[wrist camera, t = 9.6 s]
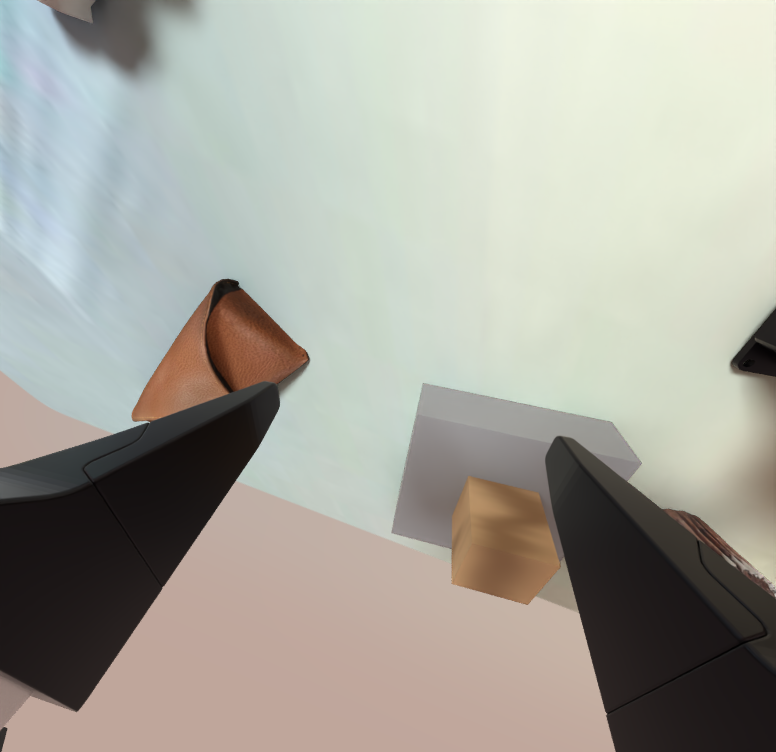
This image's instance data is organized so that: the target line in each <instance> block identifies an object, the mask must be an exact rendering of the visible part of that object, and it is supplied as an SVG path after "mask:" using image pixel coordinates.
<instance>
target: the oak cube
mask: <svg viewBox="0 0 776 752" xmlns="http://www.w3.org/2000/svg"><path fill="white" fill-rule="evenodd" d="M560 567H561V566H560V562H559V559H558V556H557V552H556V549H555V546H554V542H553V539H552V536H551V532H550V529H549V525H548V522H547V519H546V515H545V512H544V509H543V505H542V502H541V499H540V495H539V493H538V492H534V491H530V490H526V489H521V488H517V487H513V486H509V485H505V484H500V483H496V482H492V481H488V480H484V479H480V478H475V477H471V476H468V478H467V480H466V483H465V485H464V488H463V490H462V493H461V495H460V498H459V500H458V503H457V505H456V508H455V510H454V513H453V515H452V584H454V585H458V586H462V587H465V588H469V589H472V590H476V591H480V592H483V593H487V594H490V595H494V596H497V597H501V598H505V599H508V600H512V601H515V602H519V603H523V604H526V605H528V604H529V603H530V602H531V600H532V599H533V598H534V597H535V596H536V595H537V594H538V592H539V591H540V590H541V589H542V588H543V587H544V585H545V584H546V583H547V582H548V581H549V580H550V579H551V577H552V576H553V575H554V574H555V573H556V572H557V570H558V569H559V568H560Z"/></svg>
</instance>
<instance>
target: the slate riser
mask: <svg viewBox="0 0 776 752" xmlns="http://www.w3.org/2000/svg"><path fill="white" fill-rule="evenodd" d="M558 435H561V436H566V437H571V438H573V439H575V440H576V441H577V442H578V443H580V444H581V445H582V446H583V447H585V448H586V449H587V450H588V451H590V452H591V453H592V454H593V455H595V456H596V457H597V458H598V459H600V460H601V461H602V462H603V463H605V464H606V465H607V466H608V467H610V468H611V469H612V470H613V471H615V472H616V473H617V474H618V475H620V476H621V477H622V478H623V479H625V480H626V481H628V480H629V478H630V477H631V476H632V475H633V474H634V472H635V471H636V470H637V469H638V468H639V467H640V465H641V464H642V462H641V461H640V460H639V458H638V457H637V456H636V454H635V453H634V452H633V450H632V449H631V448H630V446H629V445H628V443H627V442H626V441H625V439H624V438H623V437H622V435H621V434H620V433H619V431H618V430H617V428H616V427H615V426H614V424H613V423H612V422H608V421H603V420H598V419H594V418H589V417H584V416H579V415H574V414H569V413H565V412H560V411H555V410H550V409H545V408H540V407H535V406H531V405H526V404H521V403H516V402H511V401H506V400H502V399H497V398H492V397H487V396H482V395H477V394H473V393H468V392H463V391H458V390H453V389H448V388H443V387H439V386H434V385H429V384H424V383H423V386H422V390H421V395H420V400H419V404H418V409H417V413H416V418H415V422H414V427H413V431H412V436H411V441H410V445H409V450H408V454H407V459H406V463H405V468H404V473H403V477H402V482H401V486H400V491H399V495H398V501H397V506H396V511H395V516H394V521H393V527H392V532H391V533H393V534H397V535H401V536H405V537H408V538H412V539H416V540H420V541H424V542H427V543H431V544H435V545H439V546H442V547H446V548H450V549H452V515H453V513H454V510H455V508H456V505H457V503H458V500H459V498H460V495H461V493H462V490H463V488H464V485H465V483H466V480H467V478H468V476H471V477H475V478H480V479H484V480H488V481H492V482H496V483H500V484H505V485H509V486H513V487H517V488H521V489H526V490H530V491H534V492H538V493H539V495H540V499H541V502H542V505H543V509H544V512H545V515H546V519H547V522H548V525H549V529H550V532H551V536H552V539H553V542H554V546H555V549H556V552H557V556H558V559H559V562H560V561H561V560H562V558H563V557H564V553H563V549H562V545H561V542H560V538H559V534H558V530H557V526H556V523H555V519H554V515H553V511H552V506H551V500H550V493H549V486H548V479H547V472H546V465H545V457H546V454H547V452H548V450H549V448H550V446H551V444H552V442H553V440H554V438H555V437H556V436H558Z"/></svg>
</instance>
